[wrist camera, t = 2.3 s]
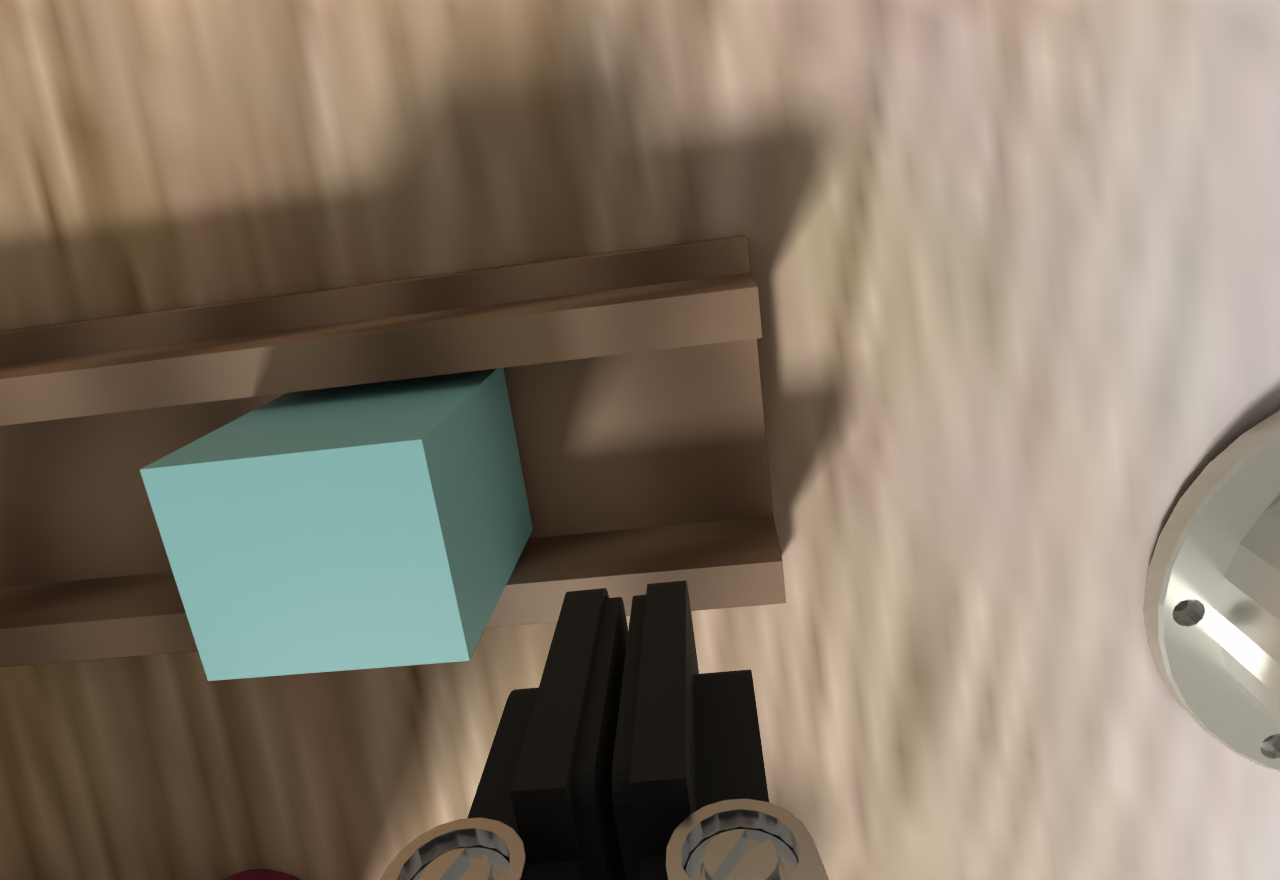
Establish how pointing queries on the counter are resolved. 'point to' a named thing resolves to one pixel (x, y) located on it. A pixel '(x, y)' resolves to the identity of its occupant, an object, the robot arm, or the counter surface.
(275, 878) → the cup
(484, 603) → the block
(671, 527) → the chute
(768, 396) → the counter surface
